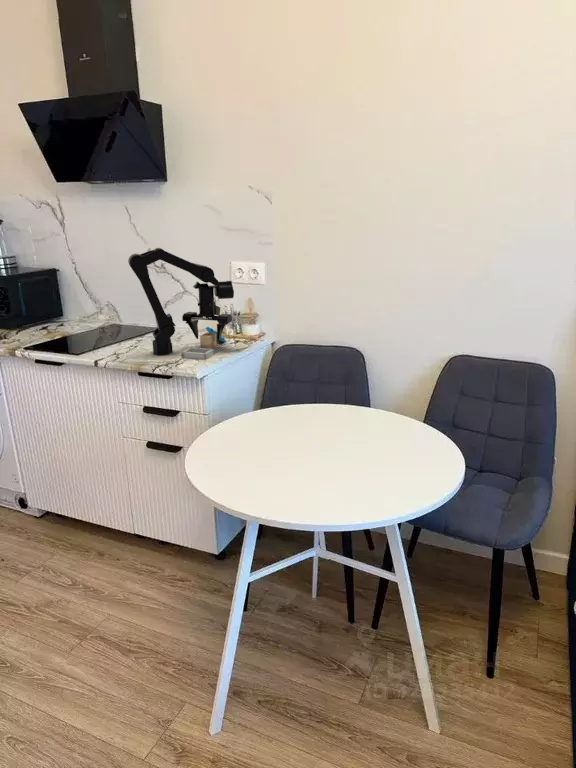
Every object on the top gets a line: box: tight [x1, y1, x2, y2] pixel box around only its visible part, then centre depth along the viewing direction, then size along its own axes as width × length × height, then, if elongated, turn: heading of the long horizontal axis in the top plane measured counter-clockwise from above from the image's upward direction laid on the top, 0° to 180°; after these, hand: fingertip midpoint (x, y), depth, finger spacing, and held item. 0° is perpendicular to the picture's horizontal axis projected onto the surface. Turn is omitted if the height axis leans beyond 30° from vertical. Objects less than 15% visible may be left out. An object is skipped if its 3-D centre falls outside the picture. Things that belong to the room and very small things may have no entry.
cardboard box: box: [199, 332, 218, 349], centre depth 216 cm, size 6×4×6 cm, turn 164°
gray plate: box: [180, 346, 226, 361], centre depth 212 cm, size 20×10×3 cm, turn 164°
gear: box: [205, 326, 227, 343], centre depth 229 cm, size 11×6×10 cm
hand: (208, 339), depth 215 cm, fingers open, 9 cm apart
